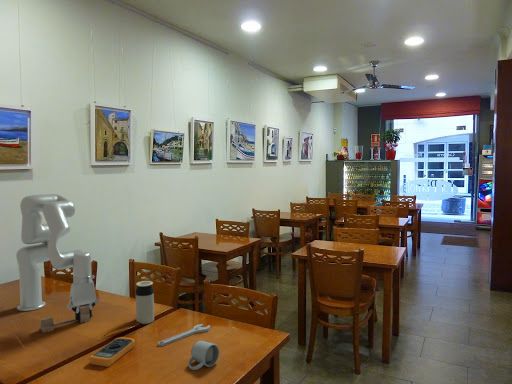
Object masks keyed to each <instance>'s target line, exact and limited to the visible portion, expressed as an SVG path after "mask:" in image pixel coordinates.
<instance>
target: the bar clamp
mask: <svg viewBox="0 0 512 384" xmlns="http://www.w3.org/2000/svg"><path fill="white" fill-rule="evenodd" d="M92 317H93V315H92V316H91V318H92ZM76 321H77V320H76V318H75V317H74V318H72V319H68V320H64V321H59V322H56V323H54V318H52V316H49V317H45V318H40V327H39V330H40V332H42V333H43V334H44V333H45V334H46V333H51V332H52V331H54V329H55V327H57V326H60V325H64V324H65V325H66V324H69V323H73V322H76ZM77 322H78V321H77Z"/></svg>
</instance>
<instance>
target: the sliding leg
mask: <svg viewBox="0 0 512 384" xmlns="http://www.w3.org/2000/svg"><path fill="white" fill-rule="evenodd" d="M89 306H90V305H89V304H86V305H82V306H80V308H79V312H80V321H78V322H79V323H80V324H82V323H87V322H89V321H90V320H91V318H90V308H89Z"/></svg>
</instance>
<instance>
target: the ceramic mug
mask: <svg viewBox="0 0 512 384" xmlns="http://www.w3.org/2000/svg"><path fill="white" fill-rule="evenodd" d="M190 355H191V357H190V359H189V360H188V362H187V363H188V364H187V365H188V367H189V369H190V370H191V371H196V370H199V369H201V368H202V367H203V366H205V367H207V368H210V367H213V366H214V365H216V363H217V362H218V361H219V357H220V348H219V346H218V345H217V344H216V343H212V342H207V341H205V340H198V341H196V342H195V343H194V344H193V345H192V347H191V350H190ZM193 361H194V362H197V363H198V364H197V365H194V366H192V365H191V364H192V363H193Z"/></svg>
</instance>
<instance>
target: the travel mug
mask: <svg viewBox="0 0 512 384" xmlns="http://www.w3.org/2000/svg"><path fill="white" fill-rule="evenodd" d="M153 283H154V282H153V281H151V280H142V281H137V282H136V283H135V285H136V290H135V313H136V314H135V317H136V323H139V325H147V324H151V323H153V322H154V321H155V298H154V297H155V296H154V295H155V294H154V293H155V291H154V287H153Z"/></svg>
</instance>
